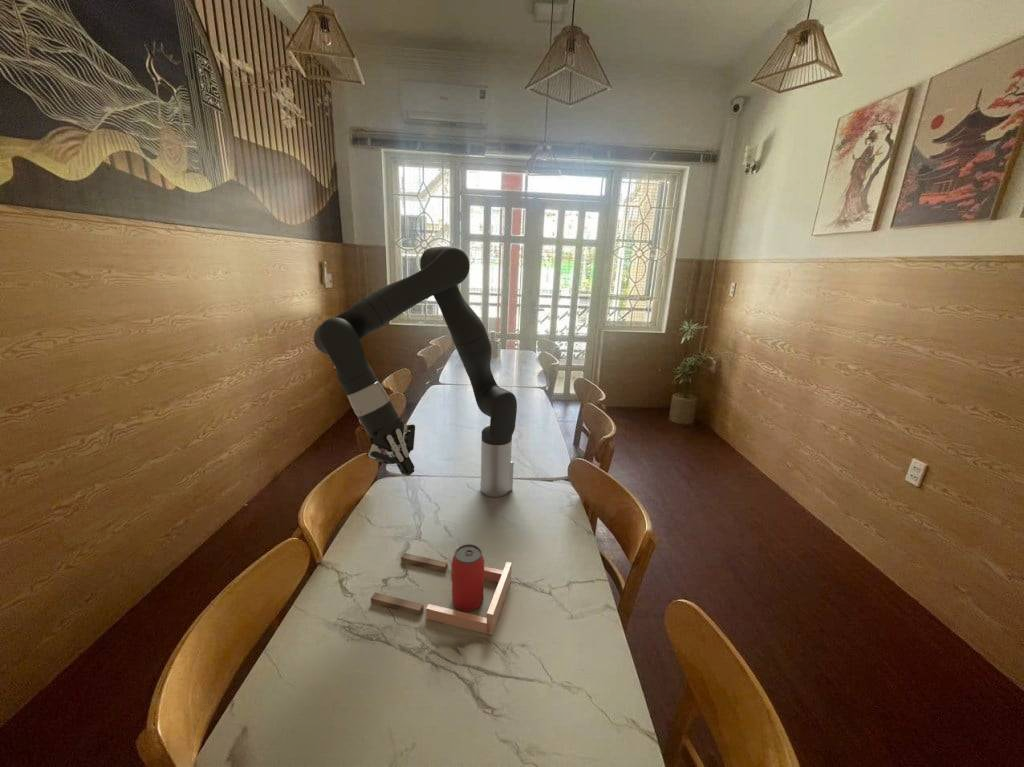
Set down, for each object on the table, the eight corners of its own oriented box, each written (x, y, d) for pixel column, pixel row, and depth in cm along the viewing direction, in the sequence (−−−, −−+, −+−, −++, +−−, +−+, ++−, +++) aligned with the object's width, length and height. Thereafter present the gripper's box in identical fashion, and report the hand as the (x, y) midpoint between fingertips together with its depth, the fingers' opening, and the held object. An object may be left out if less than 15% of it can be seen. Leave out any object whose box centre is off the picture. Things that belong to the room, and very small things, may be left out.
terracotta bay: (426, 618, 82) (425, 598, 80) (453, 568, 95) (453, 550, 94) (492, 635, 79) (493, 614, 77) (510, 581, 92) (511, 562, 91)
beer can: (488, 594, 88) (490, 547, 85) (474, 617, 83) (474, 568, 79) (462, 584, 91) (462, 538, 87) (446, 606, 85) (445, 558, 81)
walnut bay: (371, 604, 85) (370, 598, 84) (404, 558, 98) (404, 552, 98) (419, 616, 82) (419, 610, 82) (447, 567, 96) (447, 562, 95)
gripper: (356, 419, 81) (397, 492, 85) (405, 390, 90) (440, 456, 94) (339, 423, 86) (378, 491, 90) (387, 395, 95) (421, 457, 99)
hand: (410, 473), depth 92 cm, fingers closed
